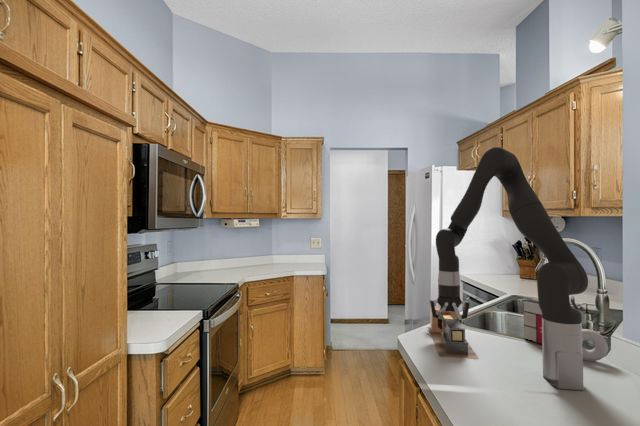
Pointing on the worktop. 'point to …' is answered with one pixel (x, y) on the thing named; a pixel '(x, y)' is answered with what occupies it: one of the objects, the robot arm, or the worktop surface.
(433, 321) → the socket block
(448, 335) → the sleeve
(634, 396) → the worktop surface
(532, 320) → the grey and red box
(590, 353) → the donut
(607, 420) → the worktop surface
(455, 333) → the yellow square peg
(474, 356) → the base board
